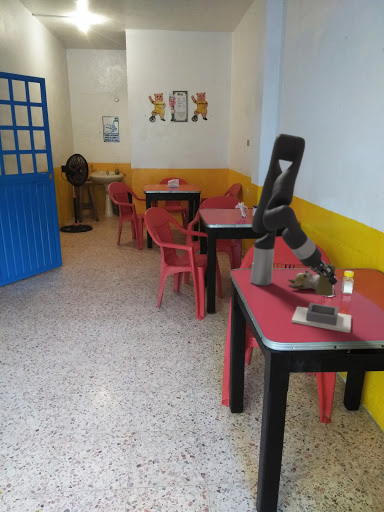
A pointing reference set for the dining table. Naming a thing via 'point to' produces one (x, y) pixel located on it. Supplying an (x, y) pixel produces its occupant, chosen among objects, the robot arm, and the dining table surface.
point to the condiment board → (322, 317)
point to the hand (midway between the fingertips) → (330, 280)
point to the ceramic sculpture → (305, 281)
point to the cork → (325, 284)
